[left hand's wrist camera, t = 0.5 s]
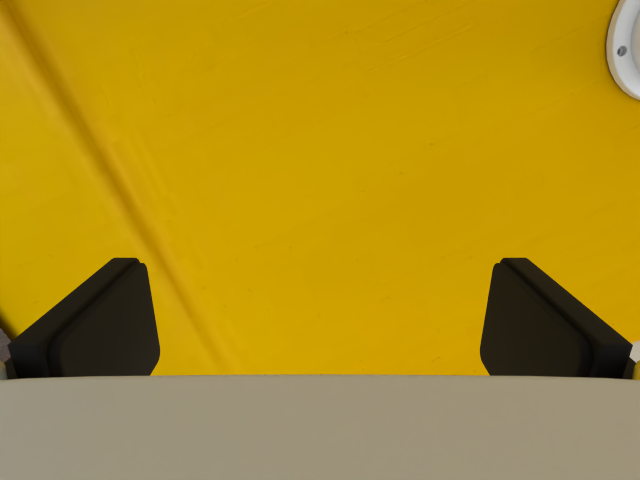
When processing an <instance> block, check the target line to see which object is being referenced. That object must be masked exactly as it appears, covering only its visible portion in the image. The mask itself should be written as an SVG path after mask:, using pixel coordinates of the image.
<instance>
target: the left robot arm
mask: <svg viewBox="0 0 640 480" xmlns="http://www.w3.org/2000/svg"><path fill="white" fill-rule="evenodd" d="M606 49H607V61H608V65H609V69H610V72H611V74H612V76H613V78H614V80H615V82H616V83H617V84H618V86H619V87H620V88H621V89H622V90H623V91H624V92H625V93H627V94H628V95H630V96H631V97H633V98H635V99H638V100H640V0H620V1H619V3H618V5H617V7H616V10H615V12H614V14H613V16H612V19H611V23H610V26H609V29H608V36H607V43H606ZM7 346H8V349H9V353H10V356H11V357H10V358H9V359H8V360H7V361H6V362H4V363H3V362H2V361H0V480H640V361H638V362H637V363H636V362H634V361H633V360H632V359H631V358H630V357H629V356H630V352H631V349H632V346H633V345H632V344H631V343H630V342H628V341H627V340H626V339H625V338H624V337H622V336H621V335H620V334H619V333H617V332H616V331H615V330H614V329H613V328H611V327H610V326H609V325H608V324H606V323H605V322H604V321H603V320H602V319H600V318H599V317H598V316H597V315H596V314H594V313H593V312H592V311H591V310H589V309H588V308H587V307H586V306H585V305H583V304H582V303H581V302H580V301H578V300H577V299H576V298H575V297H574V296H572V295H571V294H570V293H569V292H568V291H566V290H565V289H564V288H563V287H561V286H560V285H559V284H558V283H557V282H555V281H554V280H553V279H552V278H550V277H549V276H548V275H547V274H546V273H544V272H543V271H542V270H541V269H540V268H538V267H537V266H536V265H535V264H533V263H532V262H531V261H530V260H529V259H527V258H503V259H502V260H501V262H500V263H496V264H495V265H494V267H493V272H492V278H491V284H490V290H489V296H488V302H487V308H486V315H485V321H484V327H483V333H482V339H481V345H480V356H481V360H482V363H483V364H484V366H485V368H486V369H487V371H488V373H489V374H490V376H461V375H176V376H150V374H151V373H152V371H153V369H154V368H155V366H156V364H157V363H158V360H159V357H160V345H159V339H158V333H157V327H156V321H155V315H154V308H153V302H152V296H151V290H150V284H149V278H148V272H147V267H146V265H145V264H144V263H140V262H139V260H138V259H137V258H113V259H111V260H110V261H109V262H108V263H107V264H105V265H104V266H103V267H102V268H100V269H99V270H98V271H97V272H96V273H94V274H93V275H92V276H91V277H90V278H88V279H87V280H86V281H85V282H83V283H82V284H81V285H80V286H79V287H77V288H76V289H75V290H74V291H72V292H71V293H70V294H69V295H68V296H66V297H65V298H64V299H63V300H62V301H60V302H59V303H58V304H57V305H55V306H54V307H53V308H52V309H51V310H49V311H48V312H47V313H46V314H44V315H43V316H42V317H41V318H40V319H38V320H37V321H36V322H35V323H34V324H32V325H31V326H30V327H29V328H27V329H26V330H25V331H24V332H23V333H21V334H20V335H19V336H18V337H16V338H15V339H14V340H13V341H12V342H10V343H9V344H8V345H7Z"/></svg>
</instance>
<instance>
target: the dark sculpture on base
mask: <svg viewBox="0 0 640 480" xmlns="http://www.w3.org/2000/svg"><path fill="white" fill-rule="evenodd" d="M10 342H12V341H10V339H9V338H8V337H7V335H6V334H5V333H4V332H3V330H2V329H1V328H0V361H2V362H3V363H4V362H6V361H7V360H8V359H9V358H10V357H11V356H10V353H9V349H8V346H7V345H8V344H9V343H10Z"/></svg>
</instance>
